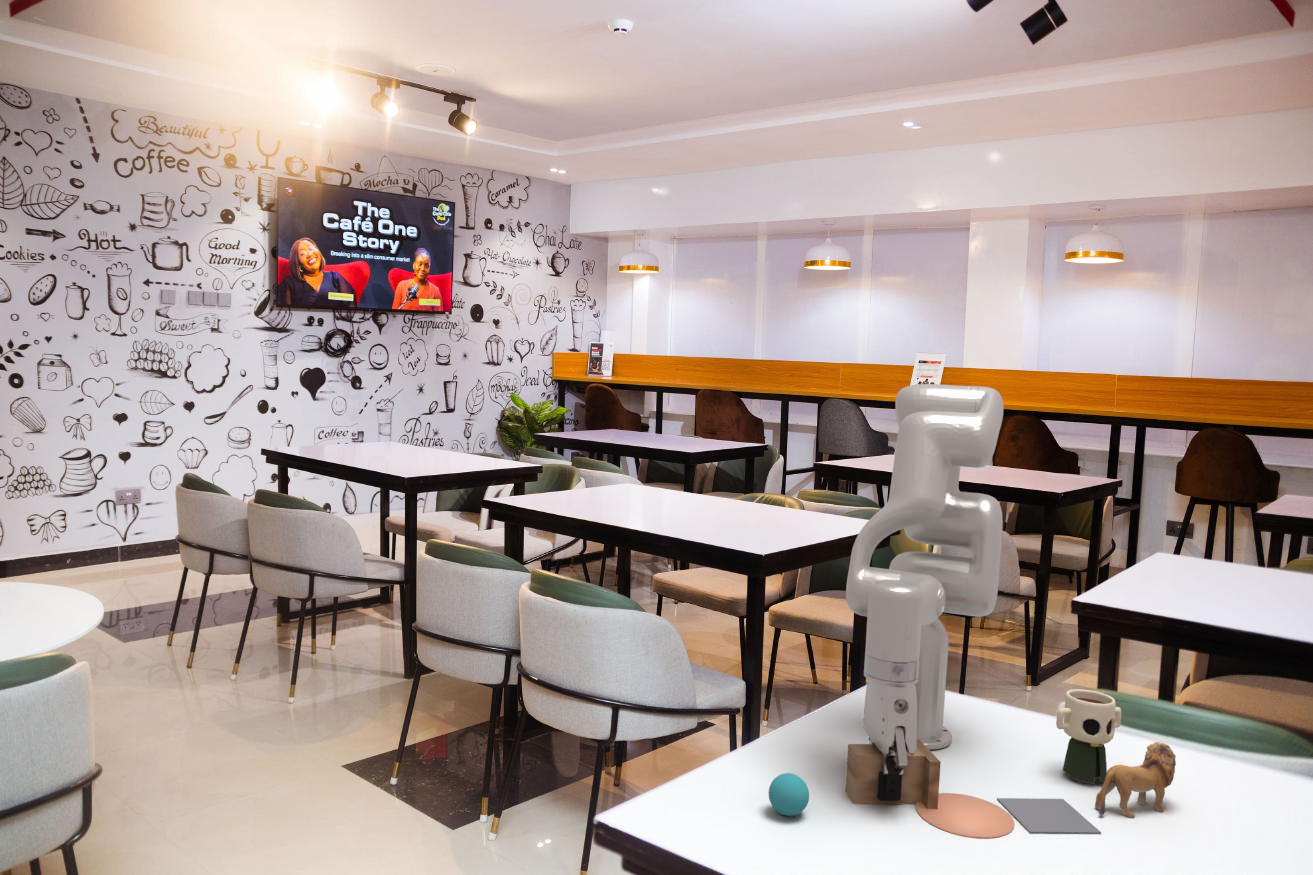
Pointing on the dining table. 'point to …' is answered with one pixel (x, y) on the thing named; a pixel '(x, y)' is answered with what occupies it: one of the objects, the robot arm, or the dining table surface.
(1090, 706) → the character mug
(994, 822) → the disc
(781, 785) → the ball
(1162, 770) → the lion figurine
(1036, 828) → the far square
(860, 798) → the t-shaped block
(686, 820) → the dining table surface
